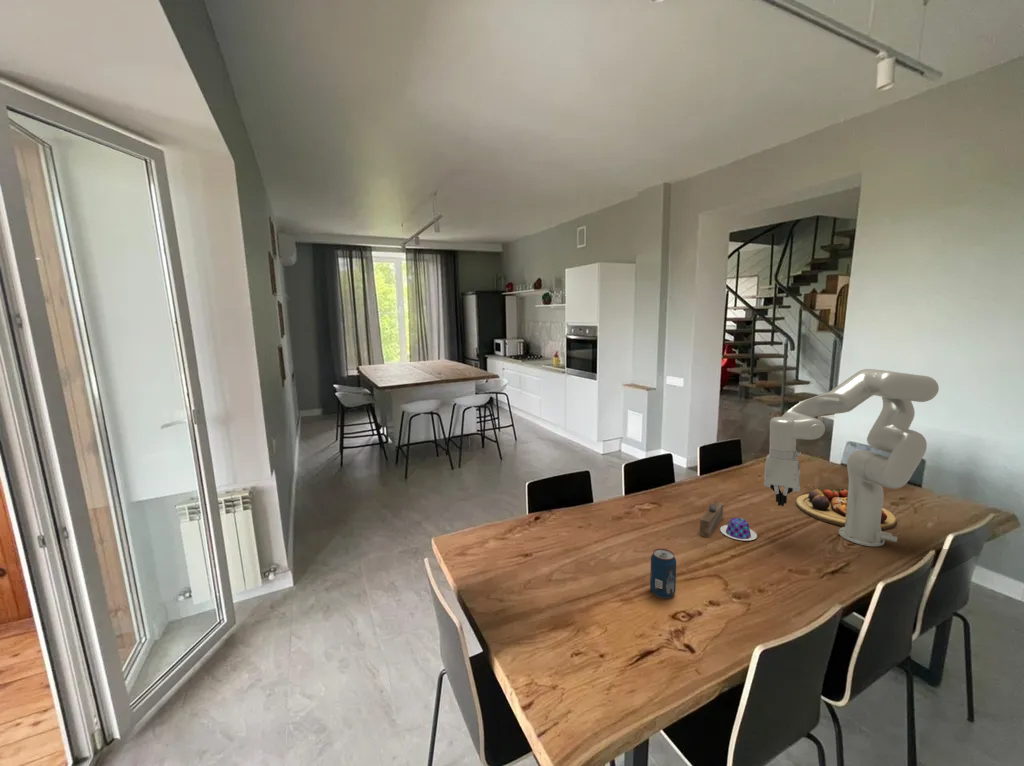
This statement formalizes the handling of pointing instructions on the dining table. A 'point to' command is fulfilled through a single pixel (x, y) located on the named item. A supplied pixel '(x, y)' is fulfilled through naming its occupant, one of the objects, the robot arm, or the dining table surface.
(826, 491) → the wooden plate with food
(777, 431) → the robot arm
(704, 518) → the rail
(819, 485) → the dining table surface
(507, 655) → the dining table surface
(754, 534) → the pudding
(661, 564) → the soda can
